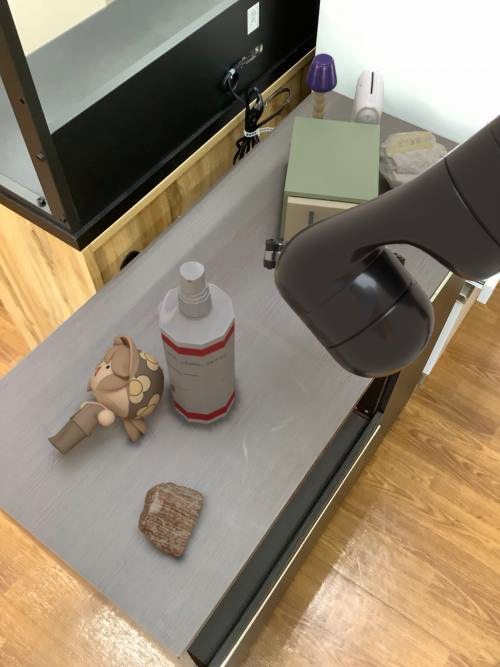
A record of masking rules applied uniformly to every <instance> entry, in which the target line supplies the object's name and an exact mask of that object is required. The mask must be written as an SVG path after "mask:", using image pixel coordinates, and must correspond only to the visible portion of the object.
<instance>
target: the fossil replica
mask: <svg viewBox="0 0 500 667" xmlns="http://www.w3.org/2000/svg"><path fill="white" fill-rule="evenodd" d="M449 152H450V151H448V150H447V148H446V146H445V145H443V144H442V143H439V142H437V138H436V136H435V135H434V133H433V132H431V131H428V130H427V131H425V130H423V131H421V130H420V131H419V130H415V131H408V132H407V131H406V132H396V133H391V134H388V137H387V138H386V140H385V141H384V142H382V143H381V144H380V145H379V174H381V175H382V177H383V179H385V180H386V181H387V184H388V186H389V188H390V189H391V190H392V189H394V188H396V187H398V186H400V185H401V184H403V183H405V182H407V181H408V180H410V179H412V178H413V177H415V176H417V175H418V174H420V173H421V172H423V171H424V170H426V169H427V168H429V167H430V166H431V165H433V164H434V163H435V162H437V161H438V160H440V159H441V158H442V157H444V156H445V155H447V154H448V153H449Z"/></svg>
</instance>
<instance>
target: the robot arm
mask: <svg viewBox="0 0 500 667" xmlns="http://www.w3.org/2000/svg"><path fill="white" fill-rule="evenodd" d="M448 152H449V153H448V154H447V155H445V156H444V157H442V158H441V159H440V160H438V161H437V162H435V163H434V164H433V165H431V166H430V167H429V168H427V169H426V170H424V171H423V172H421V173H420V174H418V175H417V176H415V177H413V178H412V179H410V180H408V181H407V182H405V183H403V184H401V185H400V186H398V187H396V188H394V189H392V188H391V189H389V190H388V191H386V192H384V193H382V194H380V195H378V197H375V198H373V199H371V200H368V201H366V202H364V203H361V204H359V205H356V206H353V207H351V208H348V209H346V210H343V211H340V212H338V213H335V214H333V215H330V216H328V217H325V218H323V219H321V220H319V221H317V222H315V223H313V224H311V225H309V226H307V227H305V228H304V229H302V230H301V231H299V232H298V233H297V234H295V235H294V236H293V237H292V238H291V239H290V240H286V241H284V240H283V241H282V243H279V242H278V240H275V239H274V238H269V239H265V246H264V254H263V255H264V256H263V261H262V263H263V268H266V270H271V271H272V270H273V269H274V272H273V275H274V276H273V278H274V279H273V280H274V285H275V287H276V290H277V291H278V293H279V295H280V296H281V298H282V299H283V301H284V302H285V303H286V304H287V305H288V306H289V308H290V309H291V310H292V311H293V312H294V314H295V315H296V316H297V317H298V318H299V319H300V320H301V322H302V323H303V324H304V325H305V326H306V328H307V329H308V330H309V331H310V332H311V334H312V335H313V336H314V338H315V339H316V340H317V341H318V342H319V343H320V344H321V345H322V347H323V348H324V349H325V351H326V352H327V353H328V354H329V355H330V356H331V357H332V359H333V360H335V362H336V363H337V364H338V365H339V366H340V367H341V368H342V369H343V370H344V371H346V372H347V373H349V374H351V375H354V376H357V377H360V378H366V379H377V378H378V379H379V378H384V377H387V376H390V375H393V374H396V373H399V372H401V371H403V370H405V369H406V368H407V367H409V366H410V365H411V364H412V363H414V362H415V361H416V360H417V359H418V358H419V357H420V356H421V355H422V353H423V352H424V351H425V349H426V348H427V346H428V344H429V342H430V341H431V338H432V335H433V332H434V329H435V323H436V316H435V315H436V314H435V309H434V306H433V303H432V301H431V299H430V297H429V296H428V294H427V293H426V291H425V290H424V289H423V288H422V286H421V285H420V284H419V283H418V281H417V280H416V279H415V278H414V277H413V276H412V274H411V273H410V272H409V271H408V269H407V268H406V267H405V264H406V258H405V257H404V256H403V255H401V254H398V252H393V251H392V249H391V248H390V247H389V246H391V245H392V246H393V245H407V246H411V247H413V248H416V249H418V250H419V251H421V252H423V253H425V254H426V255H427V256H429V257H431V258H432V259H433V260H435V261H436V262H437V263H439V264H440V265H441V266H443V267H444V268H445V269H446V270H448V271H449V272H450V273H452V274H453V275H455V276H457V277H459V278H461V279H463V280H465V281H468V282H480V281H485V280H487V279H490V278H492V277H494V276H496V275H498V274H499V273H500V112H499V113H497V114H496V115H495V116H494V117H493V118H491V119H490V120H489V121H487V122H486V123H485V124H483V125H482V126H481V127H480V128H478V129H477V130H475V131H474V132H473V133H472V134H470V135H469V136H467V138H465V139H463V141H461V142H460V143H458V145H455V147H453V149H451V150H449V151H448Z"/></svg>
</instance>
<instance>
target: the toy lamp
mask: <svg viewBox="0 0 500 667" xmlns="http://www.w3.org/2000/svg"><path fill="white" fill-rule="evenodd" d="M305 85H306V87H307V88H308V89H309V90H310V91H312V92H314V96H313V100H314V101H313V104H312V106H313V110H312V118H315V119H324V117H325V108H326V103H325V102H326V100H327V93H329V92H332V91H333V90H334V89H335V88H336V87H337V85H338V76H337V70H336V63H335V59H334V57H333V56H332V55H331V54H329V53H323V52H322V53H318V54H315V55H314V57H313V58H312V60H311V63H310V66H309V67H308V71H307V74H306V77H305Z"/></svg>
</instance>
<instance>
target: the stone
mask: <svg viewBox="0 0 500 667" xmlns="http://www.w3.org/2000/svg"><path fill="white" fill-rule="evenodd" d="M204 500H205V496H204V495H203V493H202V492H200V491H197V490H195V489H192V488H189V487H187V486H184V485H178V484H176V483H174V482H172V481H169V482H161V483H157V484H155V485H153V486H152V487H151V488H149V490H147V492H146V493H145V496H144V504H143V508H142V511H141V512H140V515H139V519H138V531H140V532H141V533H142V534H143V535H144V536H145V537H146V538H147V539H148V541H149V542H150V543H152V544H153V545H154V546H155V548H157V549H159V550H161V551H162V552H163V553H166V554H167V555H169V556H172V557H181V556H182V555H183V554H184V551H185V548H186V546H187V544H188V541H189V539H190V538H191V534H192V532H193V530H194V529H195V525H196V523H197V521H198V518H199V516H200V512H201V510H202V507H203V503H204Z"/></svg>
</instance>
